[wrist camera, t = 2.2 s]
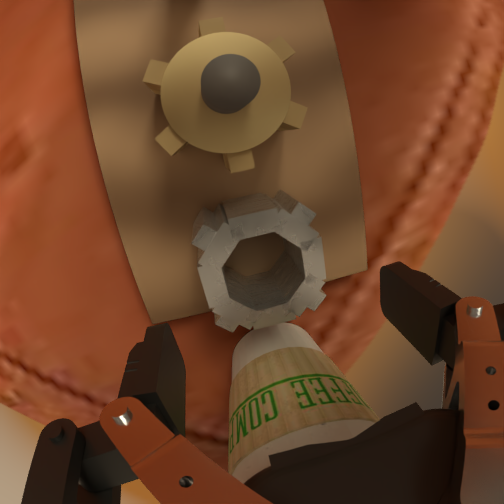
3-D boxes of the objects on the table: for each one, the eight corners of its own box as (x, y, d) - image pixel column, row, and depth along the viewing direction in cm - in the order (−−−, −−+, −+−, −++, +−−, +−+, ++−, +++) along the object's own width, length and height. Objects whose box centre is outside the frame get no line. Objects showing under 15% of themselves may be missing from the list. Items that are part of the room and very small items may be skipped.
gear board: (79, -47, 11) (40, -101, 4) (282, -84, 12) (314, -144, 5) (155, 311, 20) (139, 391, 13) (357, 261, 21) (419, 315, 14)
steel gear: (190, 209, 17) (186, 229, 13) (291, 185, 17) (316, 199, 13) (215, 299, 19) (219, 338, 15) (305, 276, 19) (329, 309, 15)
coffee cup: (297, 271, 21) (427, 465, 7) (353, 358, 24) (446, 504, 10) (179, 348, 21) (177, 558, 7) (255, 416, 25) (293, 573, 11)
